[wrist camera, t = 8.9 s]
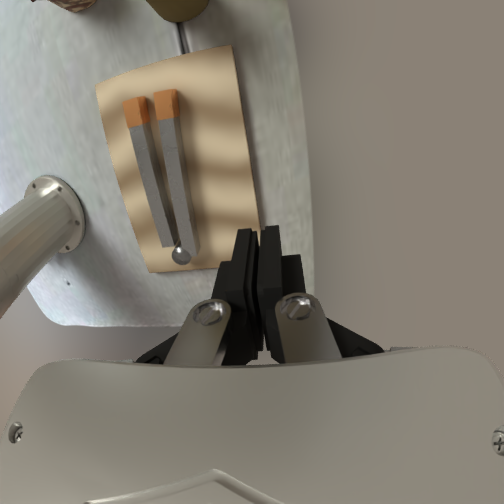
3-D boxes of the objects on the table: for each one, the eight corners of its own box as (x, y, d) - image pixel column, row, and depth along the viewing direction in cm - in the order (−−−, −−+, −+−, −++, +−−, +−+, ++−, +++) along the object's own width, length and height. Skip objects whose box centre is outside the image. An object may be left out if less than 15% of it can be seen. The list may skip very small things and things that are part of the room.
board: (264, 258, 37) (264, 263, 36) (152, 267, 39) (149, 272, 38) (232, 46, 24) (230, 44, 23) (100, 84, 26) (94, 84, 25)
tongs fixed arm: (180, 237, 35) (175, 246, 33) (166, 239, 35) (161, 248, 33) (145, 96, 26) (137, 96, 24) (130, 100, 26) (122, 101, 24)
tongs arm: (203, 255, 36) (199, 265, 34) (178, 256, 36) (173, 265, 34) (176, 88, 25) (170, 89, 23) (147, 94, 25) (139, 95, 24)
